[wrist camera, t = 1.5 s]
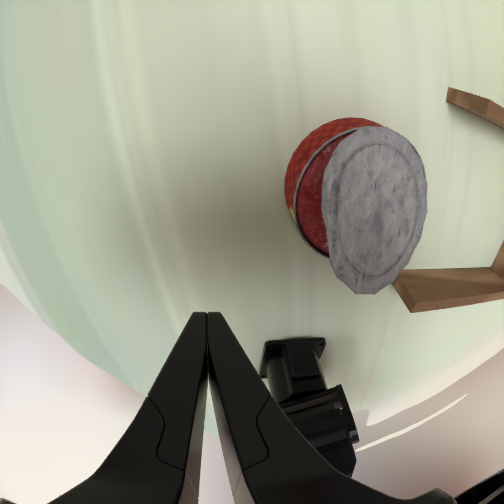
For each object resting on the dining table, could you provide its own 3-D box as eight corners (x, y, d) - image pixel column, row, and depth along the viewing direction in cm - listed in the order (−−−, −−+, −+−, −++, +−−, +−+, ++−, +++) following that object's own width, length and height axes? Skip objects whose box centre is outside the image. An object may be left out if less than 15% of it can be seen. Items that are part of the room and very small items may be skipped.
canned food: (277, 132, 23) (291, 81, 13) (393, 137, 23) (460, 103, 13) (283, 274, 24) (300, 316, 14) (398, 268, 24) (466, 298, 14)
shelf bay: (491, 274, 30) (510, 297, 26) (389, 280, 27) (410, 313, 23) (543, 141, 19) (570, 158, 16) (448, 87, 17) (489, 99, 13)
